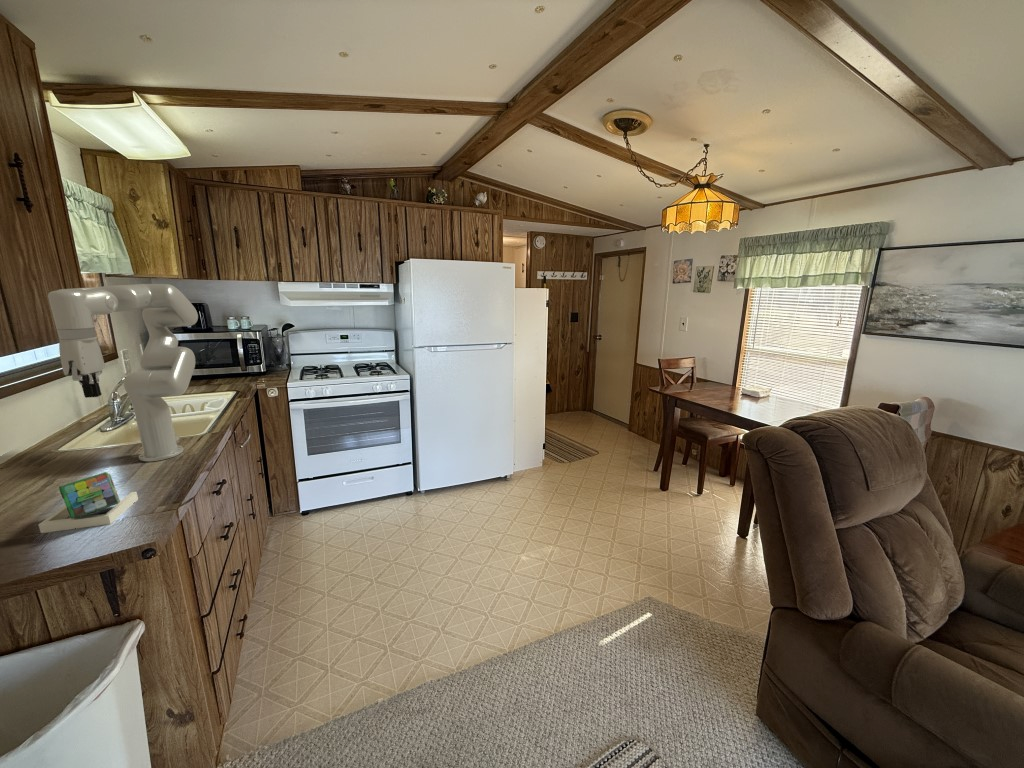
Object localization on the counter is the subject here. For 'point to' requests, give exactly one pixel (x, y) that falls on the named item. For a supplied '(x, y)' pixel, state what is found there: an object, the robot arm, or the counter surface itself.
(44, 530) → the cream u-shaped bracket
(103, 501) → the chalk box
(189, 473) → the counter surface
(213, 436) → the counter surface
